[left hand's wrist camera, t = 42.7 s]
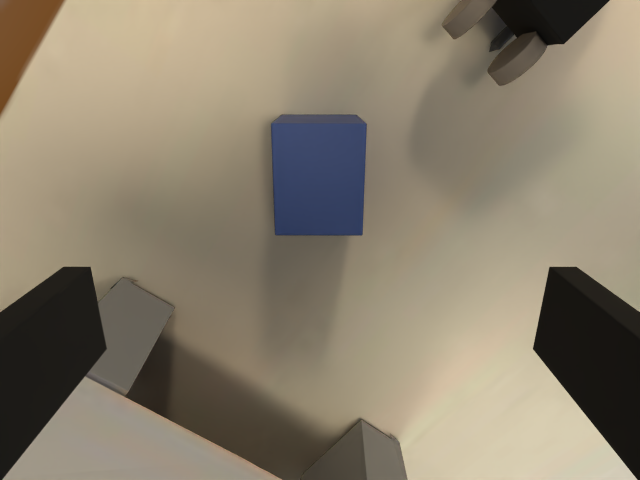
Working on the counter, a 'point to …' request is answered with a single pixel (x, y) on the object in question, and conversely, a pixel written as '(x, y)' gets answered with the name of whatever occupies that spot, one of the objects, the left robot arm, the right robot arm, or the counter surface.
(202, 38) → the counter surface
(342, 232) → the block
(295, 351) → the counter surface
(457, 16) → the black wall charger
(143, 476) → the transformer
